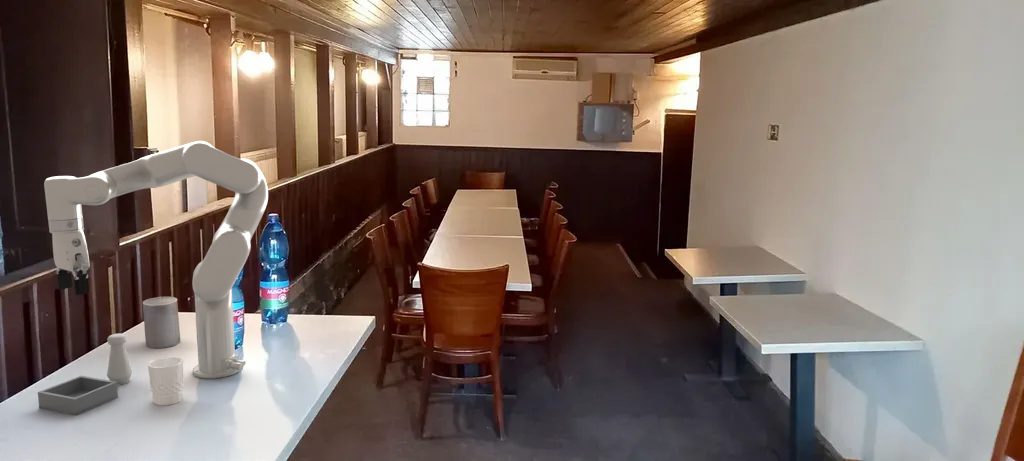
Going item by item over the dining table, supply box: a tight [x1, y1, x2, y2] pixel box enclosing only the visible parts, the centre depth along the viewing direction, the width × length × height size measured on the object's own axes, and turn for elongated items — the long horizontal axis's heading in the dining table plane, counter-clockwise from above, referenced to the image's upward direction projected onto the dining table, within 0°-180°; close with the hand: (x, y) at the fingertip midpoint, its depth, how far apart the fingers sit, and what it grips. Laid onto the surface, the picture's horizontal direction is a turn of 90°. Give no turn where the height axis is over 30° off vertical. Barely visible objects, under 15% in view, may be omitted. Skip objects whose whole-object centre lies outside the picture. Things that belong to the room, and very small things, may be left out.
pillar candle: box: [142, 296, 181, 349], centre depth 227 cm, size 10×10×15 cm
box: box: [37, 375, 119, 416], centre depth 183 cm, size 12×12×4 cm
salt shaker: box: [106, 333, 133, 386], centre depth 196 cm, size 6×6×13 cm
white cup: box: [147, 356, 184, 406], centre depth 185 cm, size 8×8×10 cm
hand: (73, 291), depth 190 cm, fingers open, 9 cm apart
